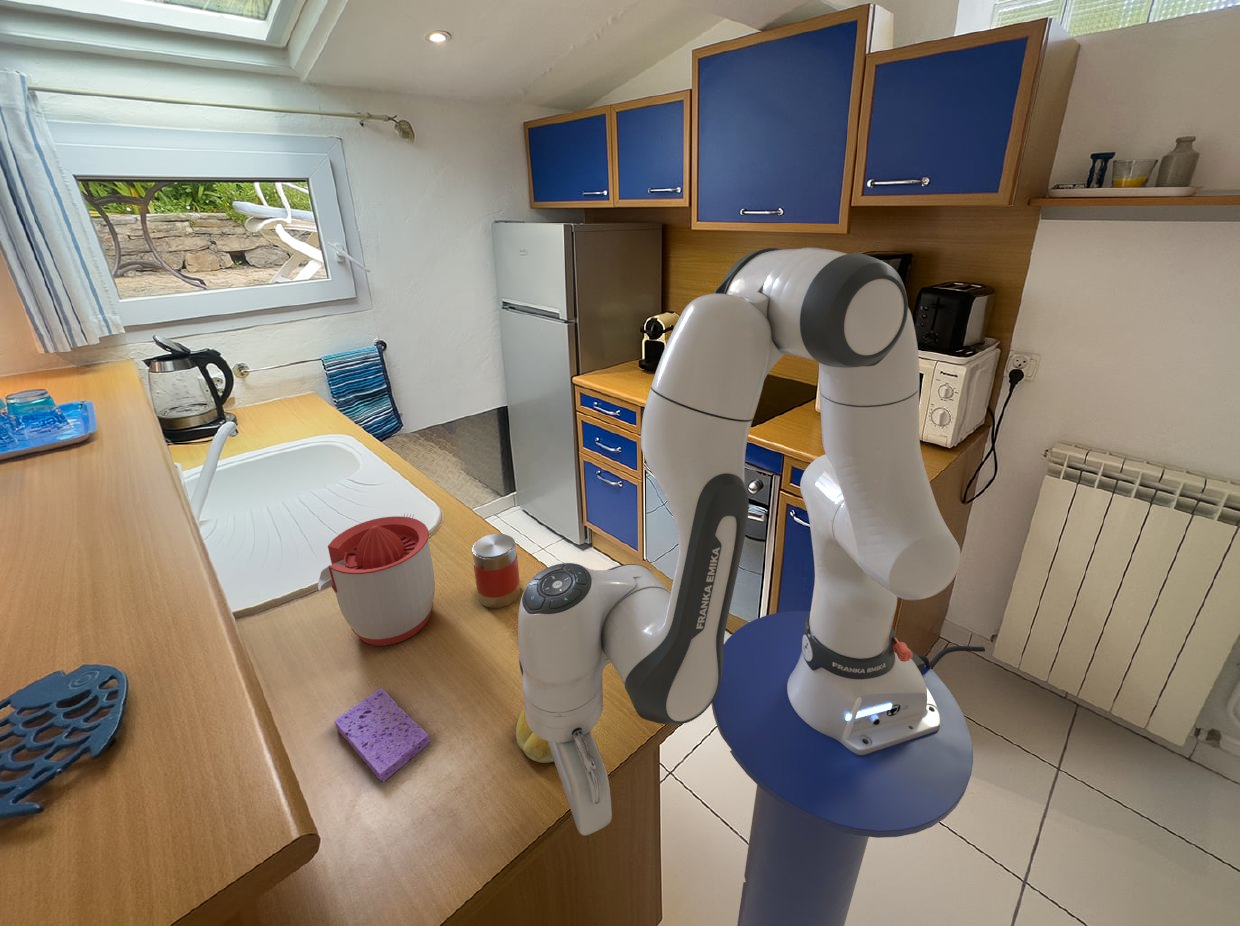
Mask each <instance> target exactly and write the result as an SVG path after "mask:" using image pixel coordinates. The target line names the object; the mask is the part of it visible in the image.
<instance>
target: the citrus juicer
mask: <svg viewBox="0 0 1240 926" xmlns="http://www.w3.org/2000/svg"><path fill="white" fill-rule="evenodd" d="M429 538H430V532H429V529H428V527H427V525H426V524H425V523H424V522H423V521H421V520H419V519H416V518H414V517H413V518H412V517H410V516H409V517H408V516H402V515H401V516H397V515H396V516H395V515H394V516H385V517H379V518H373V519H370V520H368V521H364V522H360V523H359V524H355V525H354V526H352V527H349V528H347V529H346V530H344V531H343V532H341V533H339V534H338V535H337V536H336V537H335V538H333V539H332V540H331V542H329V544H328V545H327V549H328V554H329V558H330V563H331V564H329V565H328V566H326V567H325V568H323V569H322V570H321V571H320V575H319V579H318V584H317V589H318V591H319V592H320V591H323V590H326V589H328V588H331V587H332V590H333V591H334V594H335V596H336V601H337V604H338V608H339V610H340V612H341V615H342V616H343V618H344V619H345V622H346V623H347V625H348V626H349V627H350V628H351V631H352V632H353V633H354V634H355V635H356V636H357V637H358V638H359V639H360V640H362V642H364V643H366V644H368V645H372V646H390V645H394V644H399V643H401V642H403V641H405V640H408V639H410V638H411V637H413V636H415V635H416V634H418V632H420V631H421V630H422V629H423V628H424V627H425V626H426V624H427V623H428V621H429V619H430V617H431V614H432V610H433V608H434V598H435V590H436V581H435V571H434V566H433V560H432V552H431V548H430V542H429Z"/></svg>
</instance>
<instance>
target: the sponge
mask: <svg viewBox="0 0 1240 926" xmlns="http://www.w3.org/2000/svg"><path fill="white" fill-rule="evenodd" d="M333 723H334V725H335V728H336V730H337V731H338V732H339V733H340V734H341V736H342V737H343V738H344V740H346V741H347V743H348V744H349V745H350V747H352V749H353V750H354V751H355V753H356V754H357V755H358V757H360V758H361V760H362V761H364V763H365V764H366V766H367V767H368V768H369V769H370V770H371V771H372V773H373V775H375V776H376V778H377V779H378V780H379V781H382V783H384V782H385V781H387V779H389V778H390V777H392V776H393V775H394V774H395V773H396V772H397V771H398V770H400V769H401V768H403V767H404V765H406V764H407V763H408V762H409V761H410V759H413V758H414V757H415V756H417V754H418V753H420V752H421V751H422V750H423V749H425V748H426V747H427V746H428V745H429V743H430V742H431V741H430V737H429V734H428V733H427V732H426V731H425V729H423V728H422V727H421V726H420V725H418V723H417V722H416V721H414V720H413V719H412V717H410V716H409V715H408V713H406V712H405V710H403V709H402V708H401V707H399V705H398V704H397V702H396V701H395V700H394V699H393V698H392V697H391V696H390V695H389V694H388V693H387V692H386V691H385V690H384V689H383V688H382V687H379V688H377V689H376V690H374V691H373V692H372V693H370V694H369V695H368V696H366V697H364V699H363V701H359V702H358V703H356V704H355V705H353V707H352V708H350V709H349V710H347V711H346V712H343V713H342V714H341V715H339V716H338V717H337V718H335V719H334V720H333Z"/></svg>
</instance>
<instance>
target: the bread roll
mask: <svg viewBox="0 0 1240 926" xmlns="http://www.w3.org/2000/svg"><path fill="white" fill-rule="evenodd" d="M515 738H516V743H517V745H518V747H519V748H520V749H521V750H522V752H523V753H524V754H525V755H526V757H528V759H529V760H532V761H534V762H536V763H539V764H540V763H541V764H547V763H554V759H553V756H552V753H551V750H550V747H549V744H548V741H546V740H543V739H541V738H539V737H538V736H536V735H535V734H534V733H533V732H532V731H531V730H530V728H529V726H528V724H527V722H526V718H525V709H524V708H523V709H522V710H521V711H520V714H519V716H518V719H517V722H516V727H515Z"/></svg>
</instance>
